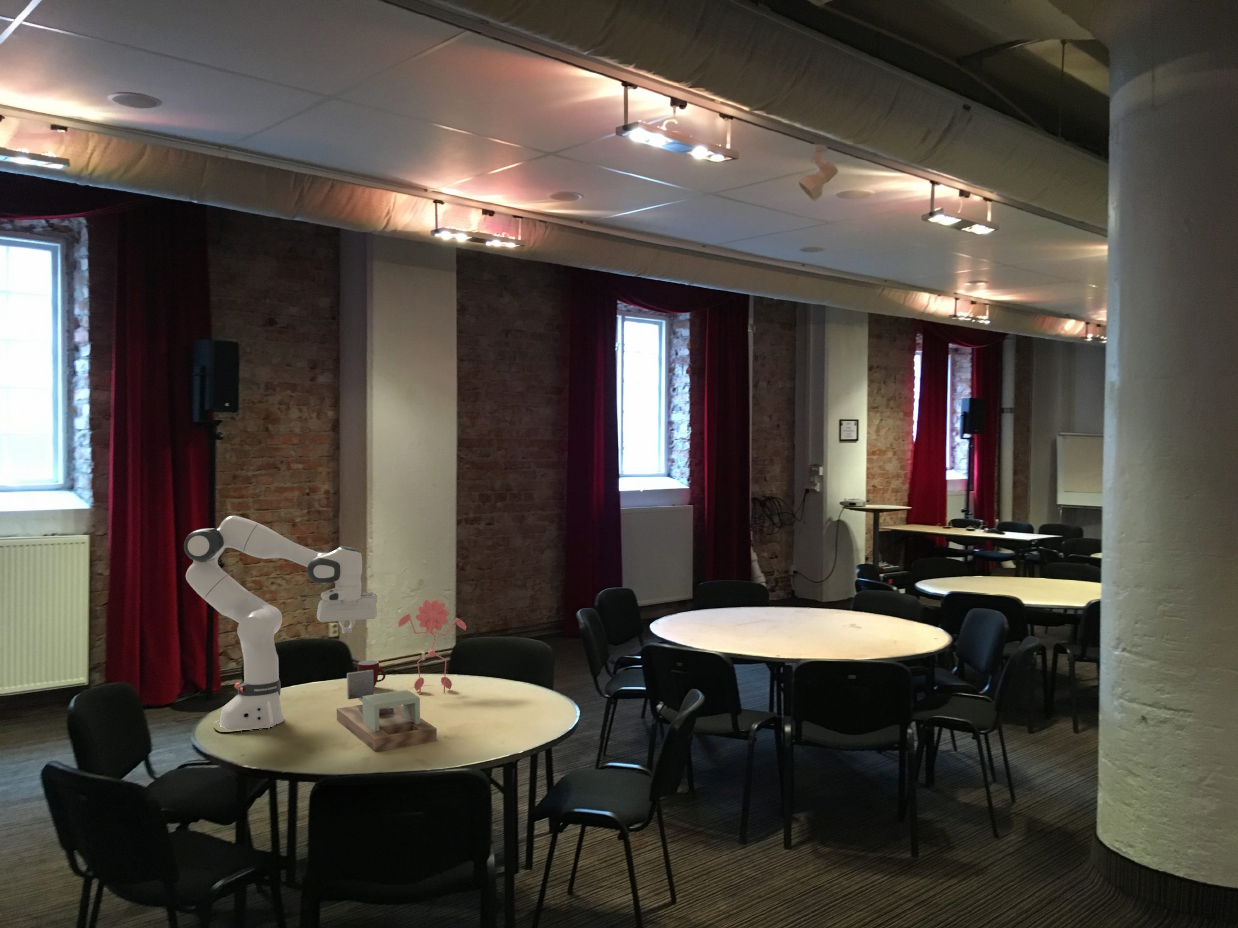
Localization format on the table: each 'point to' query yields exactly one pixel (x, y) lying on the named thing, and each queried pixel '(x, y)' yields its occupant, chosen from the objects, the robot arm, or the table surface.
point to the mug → (371, 666)
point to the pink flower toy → (432, 618)
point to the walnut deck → (387, 729)
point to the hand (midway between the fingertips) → (346, 633)
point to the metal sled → (362, 688)
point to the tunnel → (388, 700)
